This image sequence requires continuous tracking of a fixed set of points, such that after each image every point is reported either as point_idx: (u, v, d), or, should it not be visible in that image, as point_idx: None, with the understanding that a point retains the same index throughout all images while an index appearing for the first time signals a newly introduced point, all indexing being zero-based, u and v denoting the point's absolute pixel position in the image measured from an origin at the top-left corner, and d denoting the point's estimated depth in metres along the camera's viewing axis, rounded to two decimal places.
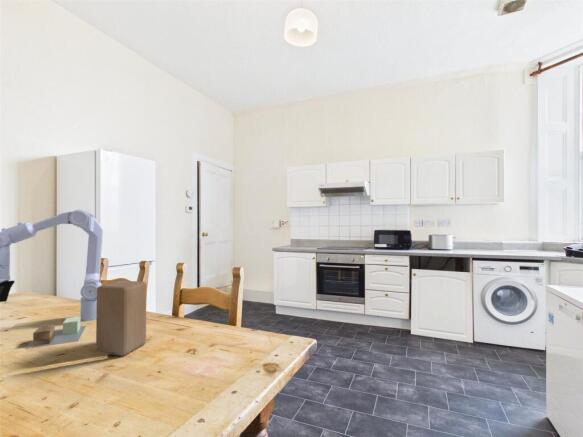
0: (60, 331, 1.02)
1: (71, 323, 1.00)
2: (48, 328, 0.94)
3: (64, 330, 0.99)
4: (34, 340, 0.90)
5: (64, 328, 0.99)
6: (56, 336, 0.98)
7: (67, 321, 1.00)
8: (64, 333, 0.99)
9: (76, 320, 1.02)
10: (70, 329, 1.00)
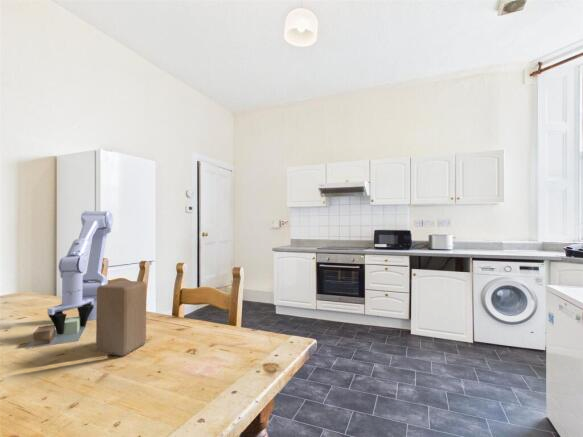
0: None
1: (71, 323, 1.00)
2: (48, 328, 0.94)
3: (64, 330, 0.99)
4: (34, 340, 0.90)
5: (64, 328, 0.99)
6: (56, 336, 0.98)
7: (67, 321, 1.00)
8: (64, 333, 0.99)
9: (76, 320, 1.02)
10: (69, 330, 1.00)
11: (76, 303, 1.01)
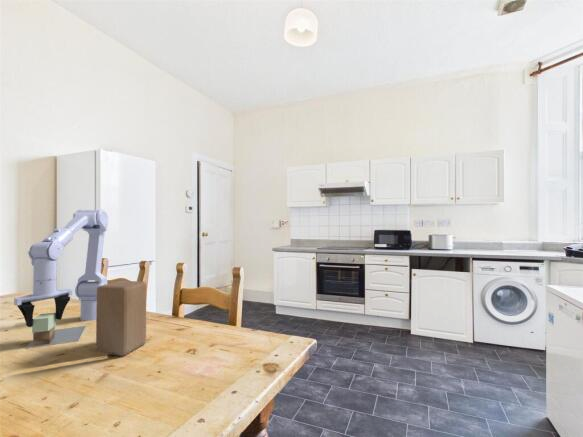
0: (60, 331, 1.02)
1: (41, 320, 0.91)
2: None
3: (34, 327, 0.90)
4: (34, 340, 0.90)
5: (34, 325, 0.90)
6: (56, 336, 0.98)
7: (38, 318, 0.91)
8: (34, 330, 0.90)
9: (48, 317, 0.93)
10: (40, 327, 0.91)
11: (47, 293, 0.92)
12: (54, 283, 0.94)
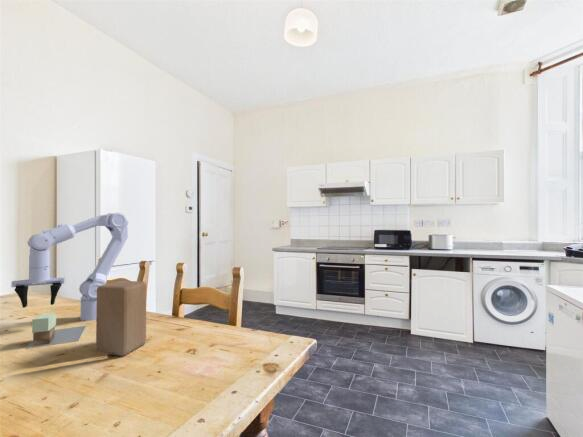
0: (60, 331, 1.02)
1: (41, 320, 0.91)
2: None
3: (34, 327, 0.90)
4: (34, 340, 0.90)
5: (34, 325, 0.90)
6: (56, 336, 0.98)
7: (38, 318, 0.91)
8: (34, 331, 0.90)
9: (48, 317, 0.93)
10: (40, 327, 0.91)
11: (34, 280, 1.03)
12: (42, 271, 1.04)
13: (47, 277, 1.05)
